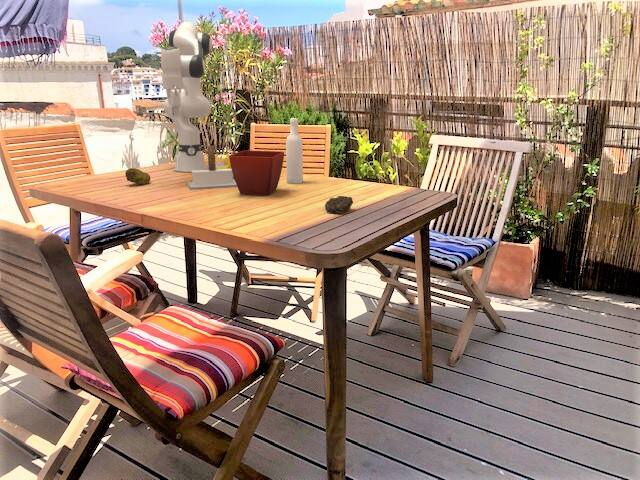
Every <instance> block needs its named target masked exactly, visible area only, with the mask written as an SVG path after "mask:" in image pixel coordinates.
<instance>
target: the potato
mask: <svg viewBox="0 0 640 480" xmlns="http://www.w3.org/2000/svg"><path fill="white" fill-rule="evenodd" d="M124 173H125V178H126V181H127V182H130V183H134V184H137V185H146V184H148V183H150V182H151V175H150V174H149V173H146V171H145V172H144V171H142V170H140V169H139V168H137V167H133V168H132V167H131V168H128V169H127V170H126V171H125V172H124Z"/></svg>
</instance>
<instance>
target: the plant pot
mask: <svg viewBox="0 0 640 480" xmlns="http://www.w3.org/2000/svg"><path fill="white" fill-rule="evenodd" d="M231 154H232V155H230V154H229V155H230V156H229V155H228V156H229V160H230V164H231V169H232V172H233V176H234V178H233V180H235V182H236V184H237V187H236V188H237V189H238V192H239V194H240V195H253V196H254V195H255V196H270V195H271V194H273V192H275V191H277V189H278V186H279V182H280V179H281V173H282V170H283V166H284V165H283V164H284V158H285V151H279V150H278V151H273V150H246V149H245V150H241V151H238V152H236V153H231Z"/></svg>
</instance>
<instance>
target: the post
mask: <svg viewBox="0 0 640 480" xmlns="http://www.w3.org/2000/svg"><path fill="white" fill-rule="evenodd" d="M206 149H207V163H208V164H207V165H208V166H209V169H208V170H209V171H216V164H215V163H216V150H215V149H216V148H215V145H208V146H207V148H206Z"/></svg>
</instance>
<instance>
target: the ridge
mask: <svg viewBox="0 0 640 480" xmlns="http://www.w3.org/2000/svg"><path fill="white" fill-rule="evenodd" d="M191 177H192V178H191V179H192V181H187V182H186V185H187V187H188V188H189V189H190V191H191V190H205V189H207V190H208V189H222V188H223V189H225V188H227V189H228V188H238V187H237V184H236V182H235V179H234V178H233V172H232V169H216V171H209V169H208V170H196V171H192V172H191Z"/></svg>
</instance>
